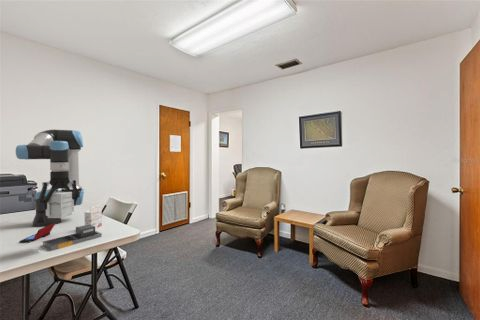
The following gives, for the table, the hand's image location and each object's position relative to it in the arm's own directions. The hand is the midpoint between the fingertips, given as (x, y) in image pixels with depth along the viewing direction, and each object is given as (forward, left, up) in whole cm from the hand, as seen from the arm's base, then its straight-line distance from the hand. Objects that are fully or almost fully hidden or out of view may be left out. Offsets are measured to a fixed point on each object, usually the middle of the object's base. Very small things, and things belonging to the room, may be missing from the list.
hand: (60, 213), depth 117 cm
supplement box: (0, 0, -2) cm, 2 cm away
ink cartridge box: (-15, +22, -17) cm, 32 cm away
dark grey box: (0, +12, -16) cm, 20 cm away
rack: (0, +6, -17) cm, 18 cm away
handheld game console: (-22, -4, -17) cm, 29 cm away
